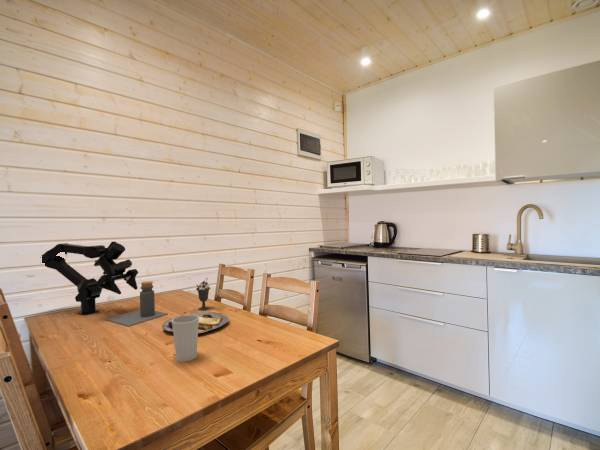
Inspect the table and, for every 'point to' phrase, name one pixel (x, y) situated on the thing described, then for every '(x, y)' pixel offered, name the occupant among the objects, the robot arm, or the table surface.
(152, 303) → the bottle
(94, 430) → the table surface
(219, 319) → the food plate
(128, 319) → the mat
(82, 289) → the robot arm
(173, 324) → the cup
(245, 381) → the table surface
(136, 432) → the table surface
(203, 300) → the sundae
